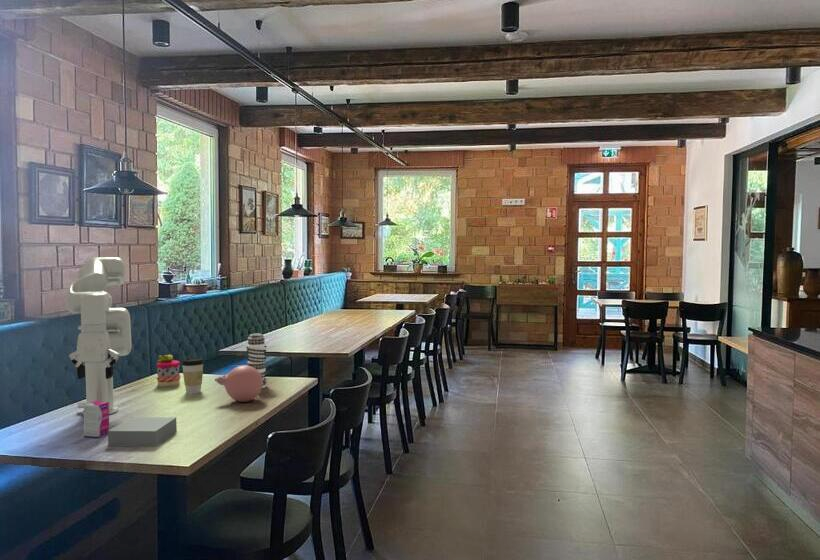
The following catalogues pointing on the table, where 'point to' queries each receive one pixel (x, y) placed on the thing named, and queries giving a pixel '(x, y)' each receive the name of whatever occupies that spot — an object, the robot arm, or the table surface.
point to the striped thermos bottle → (257, 354)
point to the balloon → (242, 383)
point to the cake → (168, 371)
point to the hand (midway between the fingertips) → (95, 378)
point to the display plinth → (142, 431)
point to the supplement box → (96, 419)
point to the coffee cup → (193, 374)
